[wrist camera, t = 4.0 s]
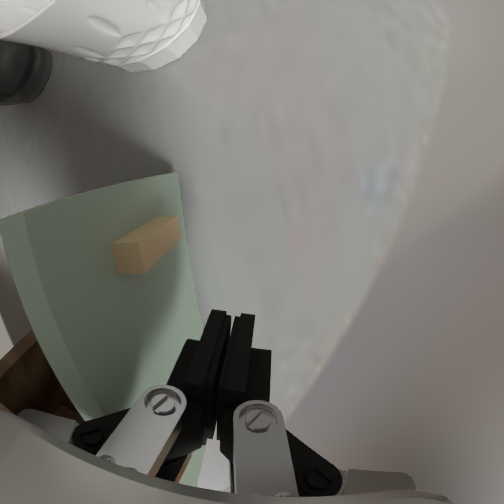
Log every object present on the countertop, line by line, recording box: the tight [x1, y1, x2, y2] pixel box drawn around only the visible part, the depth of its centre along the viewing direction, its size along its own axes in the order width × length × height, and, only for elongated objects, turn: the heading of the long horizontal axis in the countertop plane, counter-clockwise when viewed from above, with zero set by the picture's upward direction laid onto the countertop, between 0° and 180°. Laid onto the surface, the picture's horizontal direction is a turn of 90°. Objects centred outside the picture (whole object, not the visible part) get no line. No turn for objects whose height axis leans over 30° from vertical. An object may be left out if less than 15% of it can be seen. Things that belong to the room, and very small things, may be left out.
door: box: [0, 172, 208, 487], centre depth 12 cm, size 2×16×10 cm, turn 5°
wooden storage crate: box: [0, 330, 85, 424], centre depth 17 cm, size 13×16×11 cm
